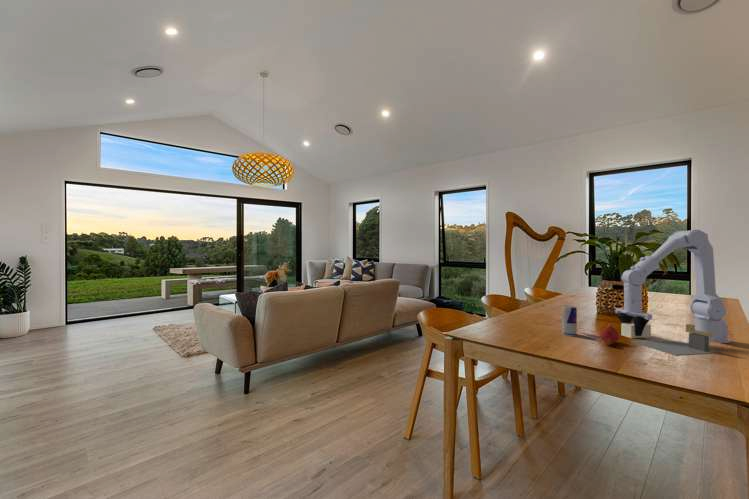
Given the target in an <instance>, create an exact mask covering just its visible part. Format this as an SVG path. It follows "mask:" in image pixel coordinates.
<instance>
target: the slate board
mask: <svg viewBox="0 0 749 499" xmlns="http://www.w3.org/2000/svg"><path fill="white" fill-rule="evenodd" d="M688 333H689V334H688V343H686V342H682V341H669V340H668V341H658V340H657V341H656V340H653V341H648V340H647V341H646V340H642V341H641V340H637V341H636V340H630V341H629V342H630V343H634V344H637V345H640V346H643V347H647V348H650V349H653V350H656V351H660V352H662V353H666V354H668V355H672V356H676V357H678V356H690V355H691V356H692V355H693V356H694V355H705V354H706V355H707V354H720V353H721V352H720V351H717V350H714V349H710V341H709V337H708V336H704V335H700V334H695V333H690V332H688Z"/></svg>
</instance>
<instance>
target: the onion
mask: <svg viewBox="0 0 749 499" xmlns="http://www.w3.org/2000/svg"><path fill="white" fill-rule="evenodd" d="M599 334H600V335H599V336H600V338H601V340H602V341H603V342H604V343H605V344H606V345H607V346H612V345H613V344H615V343H616V342H618V340H619V338H620V335H619V332H618V330H617V329H616V328H614V327H613V326H612V324H611V323H609V324H608V325H606V326H604V327H603V328H602V329H601V330H600V333H599Z"/></svg>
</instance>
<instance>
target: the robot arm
mask: <svg viewBox="0 0 749 499" xmlns="http://www.w3.org/2000/svg"><path fill="white" fill-rule="evenodd" d="M677 249H686V250H688V251H689V252H691V253H693V256H694V257H693V258H694V272H695V273H694V274H695V288H696V289H695V290H696V293H695V294H694V295H693V296H692V297H691V298H692V299H691V300H692V301H691V303H690V305H689V308H690V311H691V313H692V314H693V316H694V317H695V318H694V325H695V330H699V331H703V332H708V333H713V334H715V337H709V342H714V343H718V344H729V343H731V341H729V338H728V336H729V335H728V334H729V332H728V330H729V329H728V328H729V327H728V323H727V322H726V320H724V317H725V316H726V314H727V308H726V307H725V305H724V300H723V299H722V298H721V297H720V296H719V295H718V294H717V292H716V275H715V258H714V256H715V254H714V248H713V245H712V243H711V242H710V240H709V235H708V234H707V233H706V232H703V231H702V230H701V229H691V230H677V231H674V232H673V233H672V234H671V235H669V236H668V238H667V240H666V241H665V242H664V243H663V244H661V246H659V247H658V249H656V250H655V251H654V252H653V253H652V254H651V255H650V256H648V255H645V256H644V257H643V256H642V257H640V258H639V261H638V262H637V263H636V264H634V265H632V266H631V267H630V269H627V270H625V271H623V273H622V275H621V276H620V279H621V282H622V283H623V303H624V304H623V308H621V307H615V311H614V312H615V314H618V315H617V318H618V319H619V321H620V323H634V326H635V335H636V336H642V332H643V330H644V327H645V325H646V324H648V323H649V321H650V320H652V319H653V314H651V313H647V312H644V311H643V298H642V297H643V291H642V290H643V284H645V282H646V280H647V277H648V276H649V275H650V274H652V273H653V272H654V271H655V270H657V268H659V266H660V264H659V263H660V262H661V261H662V260H663V259H664V258H666V257H667V256H669V254H671V253H673V252H674V251H675V250H677Z"/></svg>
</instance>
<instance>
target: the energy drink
mask: <svg viewBox="0 0 749 499" xmlns="http://www.w3.org/2000/svg"><path fill="white" fill-rule="evenodd" d="M577 315H578V308H577V306H574V305H568V304H567V305H566V304H564V305H562V306H561V335H563V336H565V335H566V336H565V337H576V336H577V327H578V326H577V324H578V323H577V322H578V320H577V319H578V318H577V317H578V316H577Z"/></svg>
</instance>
